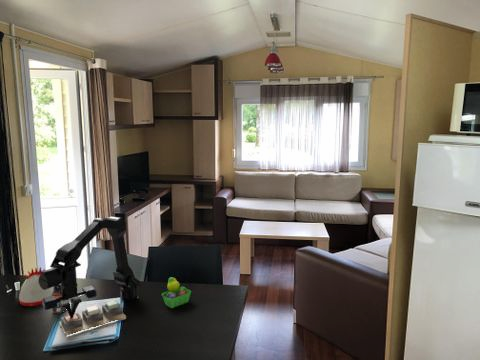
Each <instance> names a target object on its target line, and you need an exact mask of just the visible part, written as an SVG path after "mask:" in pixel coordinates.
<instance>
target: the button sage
mask: <svg viewBox="0 0 480 360" xmlns="http://www.w3.org/2000/svg"><path fill="white" fill-rule="evenodd" d="M118 303H119V302H118V301H117V300H116V299H112V300H108V301H105V305H106V308H107V309H108V310H111V309H114V308H117V307H119V306H118Z"/></svg>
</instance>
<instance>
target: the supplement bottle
mask: <svg viewBox="0 0 480 360" xmlns="http://www.w3.org/2000/svg"><path fill="white" fill-rule="evenodd" d="M59 285H60V284H59ZM52 289H53V291H52V293H51V296H52V295H53V296H54V297H55V298H57V297H61V296H62V295H60V293H59V291H56V292H54V288H52ZM65 310H66V308H65V307H61V305H60V303H57V305H56V307H55V308H52V313H54V314H56V315H59V314H63V313H64V312H63V311H65ZM62 312H63V313H62ZM65 312H66V311H65Z"/></svg>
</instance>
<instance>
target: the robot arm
mask: <svg viewBox="0 0 480 360" xmlns="http://www.w3.org/2000/svg"><path fill="white" fill-rule="evenodd" d="M103 229H106V231H107V233H108V235H110V237H111V238H112V239H111V240H112V245H113V250H114V251H113V252H114V257H115V262H116V268H115V271H113V272H112V274H113V281H115V282H116V283H117V285H118V286H119V287H120V290H119V293H120V294H119V296H120V299H121V301H123V300H124V301H123V302H124V303H129V302H132V301H136V300H139V298H140V297H139V296H138V289H137V288H138V287H139V286H140V283H141V282H140V279H137V278H136V277H135V273H134V270H133V269H132V267H131V266H130V265H129V261H128V258H129V257H128V254H127V253H128V252H127V248H126V247H127V246H126V241H125V234H126V231H127V221H126V220H125V219H124V218H123V217H119V216H109V217H106V218H104V217H101V218H100V217H95V218H94V219H93V221H92V222H91V223H90V224H89V225H88V226H87V227H86V228H84V230H83V231H82V232H81V233H80V234H79V235H77V236H76V237H75V238H74V239H73V240H72V241H70V242H68V243H65V244H64V245H63V246H61V247H60V248H59V249H57V250H56V252H55V255H54V258H53V260H52V262H51V264H50V266H49V267H50V268H48V269H46V270H44V269H43V270H44V271H43V270H41V275H40V276H39V279H38V282H39V285H40V287H41V288H42V289H43V290H46V289H49V288H51V287H52V289H54V290H53V291H54V292H56V291H59V293H60V295H62V296H61V297H57V298H55V297H54V296H53V295H52V296H49V297H45V298H43V299H42V304H41V305H42V306H43V309H44V310H47V311H48V310H51V309H52V308H55V307H56V305H57V303H60V305H61V307H65V308H66V309H67V311H66V312H67V313H68V315H69V316H70V318H73V316H74V314H75V313H76V310H77V308H78V307H79V305H80V304H81V303H82V302H83V301H82V300H83V299H81V298H82V297H85V296H86V298H88V299H91V298H95V297H97V290H96V288H95V287H94V286H92V285H89V286H88V285H87V286H84V287H82V291H80V290H79V289H78V280H77V279H78V277H77V268H79V267H81V265H82V264H81V263H80V262H78V259H80V257H81V255H82V252H83V250H84V248H85V247H87V245H89V243H90V242H91V241H92V240H93V239H94V238H95V237H96V236H97V235H99V233H100V232H101V231H102V230H103ZM61 263H62V264H61ZM59 284H60V285H59ZM78 290H79V291H78ZM69 300H70V302H69Z"/></svg>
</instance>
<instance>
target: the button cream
mask: <svg viewBox="0 0 480 360" xmlns="http://www.w3.org/2000/svg"><path fill="white" fill-rule="evenodd" d="M98 307H99V306H97V305H96V304H95V305H91V306H88V307H86V308H85V310H86V314H87V315H88V316H91V315H94V314H97V313H99V308H100V307H99V308H98Z"/></svg>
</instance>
